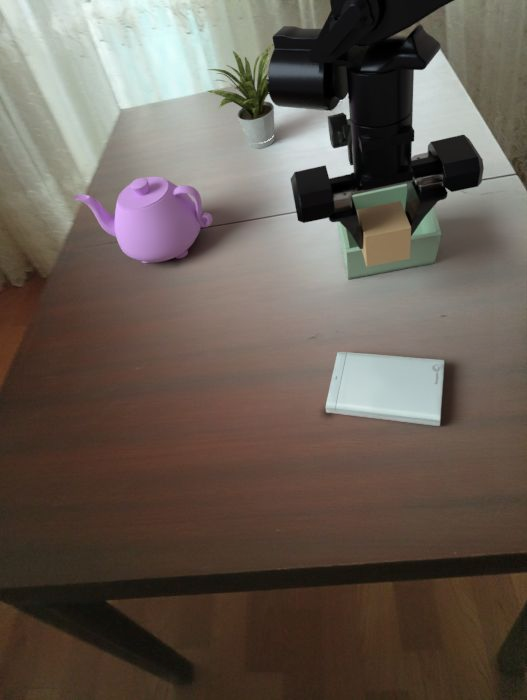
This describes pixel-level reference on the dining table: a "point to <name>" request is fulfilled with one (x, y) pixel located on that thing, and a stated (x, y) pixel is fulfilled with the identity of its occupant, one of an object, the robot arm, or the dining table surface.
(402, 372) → the hard drive
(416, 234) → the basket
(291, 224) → the dining table surface
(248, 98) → the house plant
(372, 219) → the tan cardboard cube
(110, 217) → the teapot
